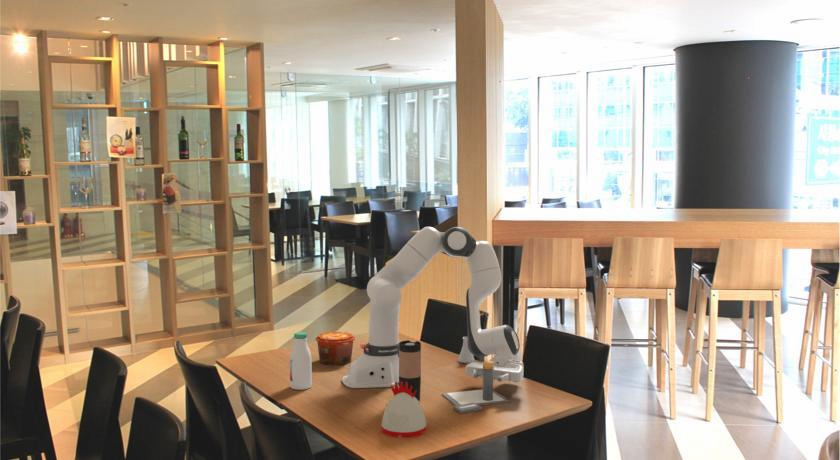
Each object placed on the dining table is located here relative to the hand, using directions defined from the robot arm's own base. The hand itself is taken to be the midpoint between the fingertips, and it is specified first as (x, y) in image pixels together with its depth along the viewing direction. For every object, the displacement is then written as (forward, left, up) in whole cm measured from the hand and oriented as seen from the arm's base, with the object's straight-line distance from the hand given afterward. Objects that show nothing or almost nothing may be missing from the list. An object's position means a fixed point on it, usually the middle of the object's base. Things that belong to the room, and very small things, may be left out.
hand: (487, 377), depth 262 cm
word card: (-9, -5, -8) cm, 14 cm away
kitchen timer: (-35, -16, -9) cm, 40 cm away
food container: (-37, +68, -9) cm, 78 cm away
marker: (+1, +1, -8) cm, 8 cm away
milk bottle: (-57, +37, -9) cm, 69 cm away
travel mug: (-24, +11, -9) cm, 28 cm away
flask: (+14, +51, -9) cm, 53 cm away
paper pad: (-2, +5, -8) cm, 10 cm away
